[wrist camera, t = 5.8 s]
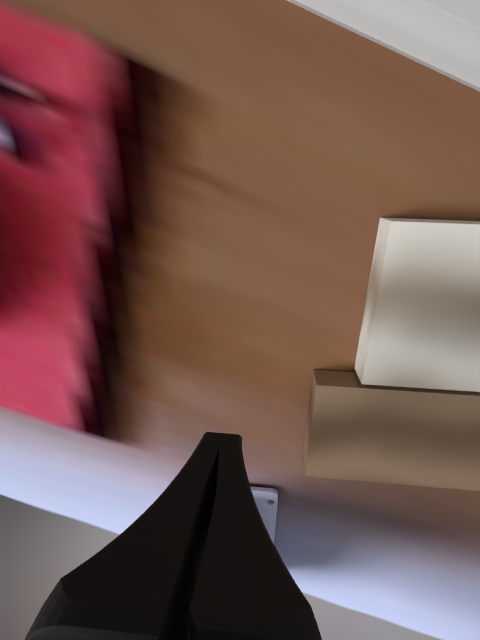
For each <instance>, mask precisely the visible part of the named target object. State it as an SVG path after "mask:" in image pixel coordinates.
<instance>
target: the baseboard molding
mask: <svg viewBox="0 0 480 640" xmlns="http://www.w3.org/2000/svg"><path fill="white" fill-rule="evenodd" d="M287 1H289V2H291V3H293V4H295V5H297V6H299V7H302V8H304V9H306V10H308V11H310V12H312V13H314V14H316V15H319V16H321V17H323V18H325V19H327V20H329V21H331V22H333V23H335V24H338V25H340V26H342V27H344V28H346V29H348V30H350V31H352V32H355V33H357V34H359V35H361V36H363V37H365V38H367V39H369V40H371V41H374V42H376V43H378V44H380V45H382V46H384V47H386V48H388V49H390V50H393V51H395V52H397V53H399V54H401V55H403V56H405V57H407V58H410V59H412V60H414V61H416V62H418V63H420V64H422V65H424V66H426V67H429V68H431V69H433V70H435V71H437V72H439V73H441V74H443V75H446V76H448V77H450V78H452V79H454V80H456V81H458V82H460V83H462V84H465V85H467V86H469V87H471V88H473V89H475V90H477V91H479V92H480V0H287Z"/></svg>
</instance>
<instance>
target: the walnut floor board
mask: <svg viewBox="0 0 480 640" xmlns="http://www.w3.org/2000/svg"><path fill="white" fill-rule="evenodd" d="M303 463H304V472H305V476H306V477H318V478H330V479H342V480H354V481H366V482H378V483H390V484H402V485H414V486H426V487H438V488H450V489H462V490H474V491H480V392H474V391H458V390H443V389H428V388H413V387H397V386H382V385H367V384H361V381H360V379H359V377H358V375H357V373H356V372H344V371H329V370H313V376H312V384H311V392H310V400H309V409H308V417H307V425H306V433H305V442H304V450H303Z"/></svg>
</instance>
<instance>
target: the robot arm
mask: <svg viewBox="0 0 480 640" xmlns="http://www.w3.org/2000/svg"><path fill="white" fill-rule="evenodd" d="M277 504H278V492H277V490H275V489H272V488H262V487H250V484H249V481H248V477H247V473H246V469H245V465H244V460H243V454H242V437H241V436H240V435H236V434H225V433H213V432H206V433H205V434H204V435H203V437H202V439H201V441H200V443H199V444H198V446H197V448H196V449H195V451H194V452H193V454H192V455H191V457H190V458H189V460H188V461H187V463H186V464H185V465H184V467H183V468H182V469H181V471H180V472H179V474H178V475H177V476H176V477H175V479H174V480H173V481H172V482H171V483H170V485H169V486H168V487H167V488H166V490H165V491H164V492H163V493H162V494H161V495H160V496H159V498H158V499H157V500H156V501H155V502H154V503H153V504H152V505H151V506H150V507H149V508H148V509H147V510H146V511H145V512H144V513H143V514H142V515H141V516H140V517H139V518H138V519H137V520H136V521H135V522H134V523H133V524H132V525H130V526H129V527H128V528H127V529H126V530H125V531H124V532H123V533H121V534H120V535H119V536H118V537H117V538H115V539H114V540H113V541H112V542H110V543H109V544H108V545H107V546H105V547H104V548H103V549H102V550H100V551H99V552H98V553H97V554H95V555H94V556H93V557H91V558H90V559H88V560H87V561H86V562H84V563H83V564H81V565H80V566H78V567H77V568H76V569H74V570H73V571H71V572H70V573H68V574H67V575H65V576H64V577H62V578H61V579H60V581H59V582H58V583H57V585H56V586H55V588H54V589H53V591H52V592H51V594H50V595H49V597H48V598H47V600H46V601H45V603H44V604H43V606H42V608H41V610H40V612H39V613H38V615H37V617H36V619H35V621H34V623H33V625H32V627H31V628H30V631H29V632H28V634H27V636H26V638H25V640H322V639H321V635H320V632H319V629H318V626H317V622H316V620H315V617H314V614H313V611H312V608H311V606H310V604H309V602H308V601H307V600H306V598H305V597H304V595H303V594H302V592H301V591H300V589H299V587H298V586H297V584H296V583H295V581H294V580H293V578H292V576H291V575H290V573H289V571H288V569H287V568H286V566H285V564H284V563H283V561H282V559H281V557H280V555H279V553H278V551H277V549H276V547H275V546H274V537H275V526H276V515H277Z"/></svg>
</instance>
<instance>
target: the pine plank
mask: <svg viewBox="0 0 480 640" xmlns="http://www.w3.org/2000/svg"><path fill="white" fill-rule="evenodd" d="M355 370H356V373H357V375H358V377H359V379H360V381H361V384H367V385H382V386H397V387H413V388H428V389H443V390H458V391H474V392H480V221H463V220H434V219H406V218H380V221H379V227H378V233H377V239H376V244H375V250H374V256H373V262H372V268H371V273H370V279H369V285H368V291H367V297H366V303H365V309H364V315H363V321H362V327H361V332H360V338H359V344H358V350H357V356H356V362H355Z"/></svg>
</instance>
